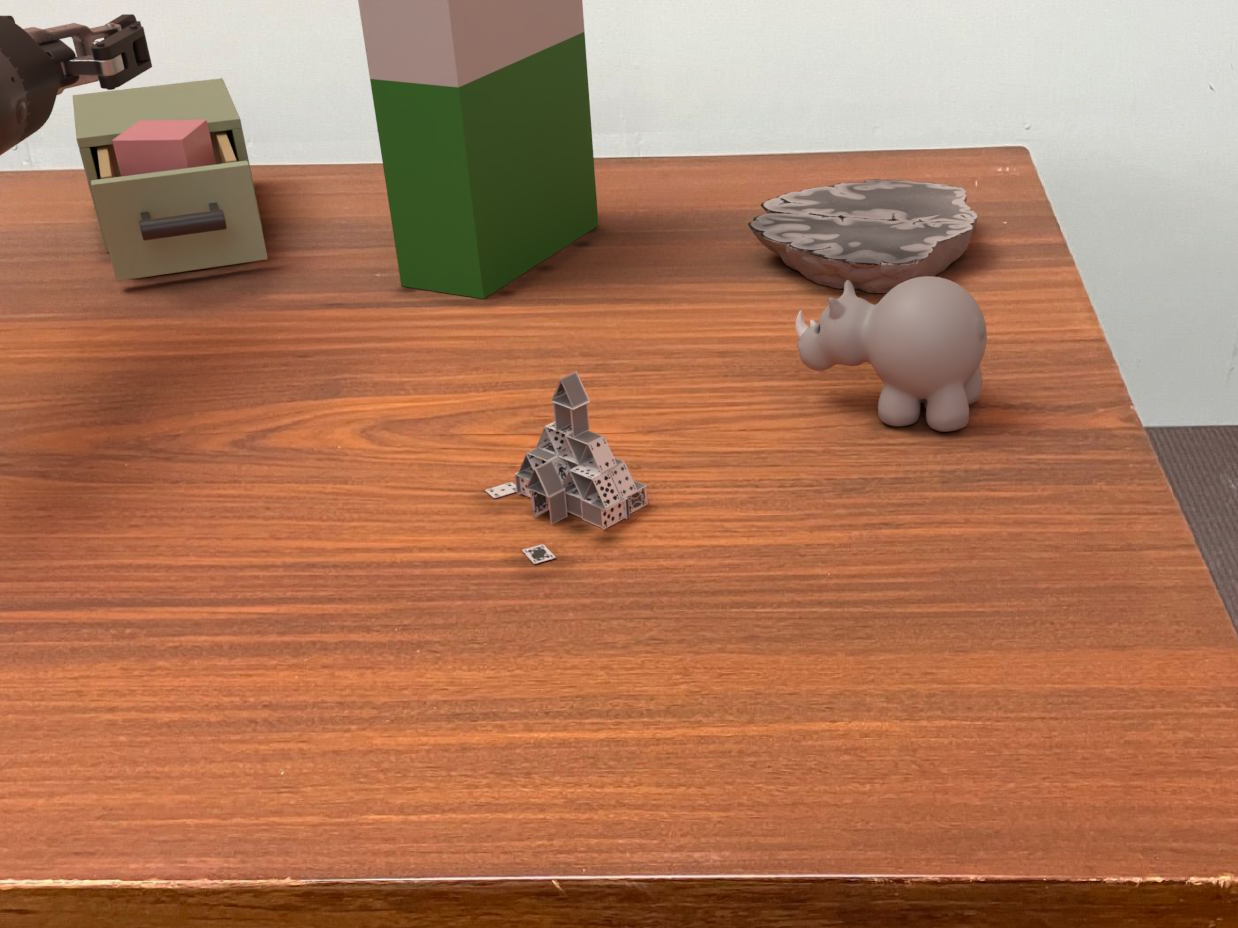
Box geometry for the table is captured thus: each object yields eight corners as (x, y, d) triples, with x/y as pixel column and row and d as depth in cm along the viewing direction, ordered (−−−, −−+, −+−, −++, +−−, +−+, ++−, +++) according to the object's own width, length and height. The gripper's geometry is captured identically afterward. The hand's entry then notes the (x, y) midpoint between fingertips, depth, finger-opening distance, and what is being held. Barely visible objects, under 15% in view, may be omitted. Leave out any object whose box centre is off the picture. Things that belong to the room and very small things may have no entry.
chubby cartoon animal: (815, 373, 100) (817, 245, 95) (994, 398, 96) (1005, 266, 91) (776, 417, 95) (775, 285, 90) (963, 446, 91) (973, 309, 86)
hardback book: (521, 215, 129) (489, -103, 115) (598, 225, 126) (575, -100, 112) (401, 286, 116) (348, -63, 102) (483, 298, 113) (441, -58, 99)
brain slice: (784, 210, 128) (784, 173, 126) (988, 221, 124) (991, 184, 122) (722, 293, 112) (721, 253, 111) (951, 310, 108) (954, 269, 107)
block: (138, 244, 120) (111, 140, 115) (163, 221, 124) (138, 120, 119) (206, 244, 119) (182, 139, 114) (228, 221, 124) (206, 119, 119)
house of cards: (430, 516, 86) (411, 390, 81) (543, 461, 91) (530, 339, 87) (540, 567, 81) (526, 435, 76) (652, 506, 86) (645, 379, 82)
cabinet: (263, 230, 128) (240, 118, 122) (106, 252, 124) (76, 138, 119) (244, 182, 139) (222, 77, 134) (100, 201, 136) (72, 94, 130)
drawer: (274, 276, 116) (255, 179, 112) (119, 299, 113) (92, 200, 109) (249, 209, 129) (230, 120, 125) (109, 228, 127) (86, 138, 122)
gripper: (61, 25, 88) (161, -31, 101) (-176, 27, 89) (-46, -29, 102) (95, 157, 92) (187, 87, 105) (-131, 158, 93) (-12, 89, 106)
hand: (72, 30), depth 104 cm, fingers open, 8 cm apart
